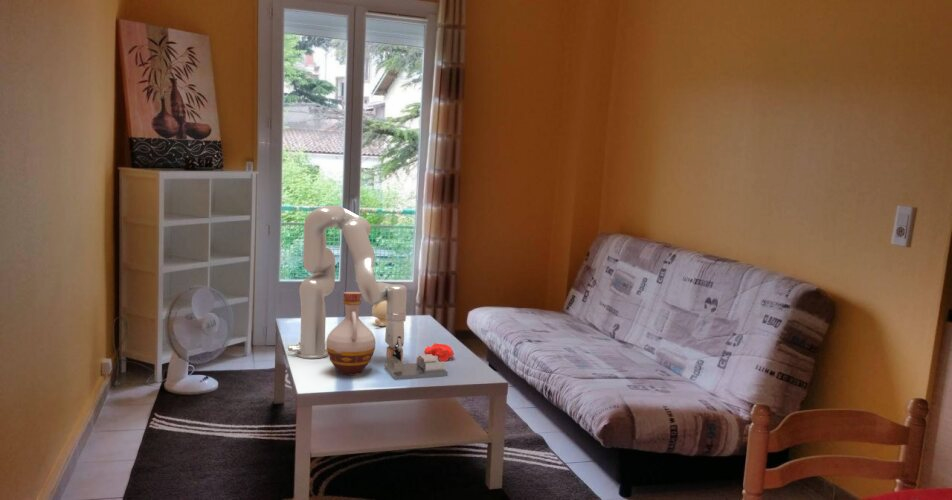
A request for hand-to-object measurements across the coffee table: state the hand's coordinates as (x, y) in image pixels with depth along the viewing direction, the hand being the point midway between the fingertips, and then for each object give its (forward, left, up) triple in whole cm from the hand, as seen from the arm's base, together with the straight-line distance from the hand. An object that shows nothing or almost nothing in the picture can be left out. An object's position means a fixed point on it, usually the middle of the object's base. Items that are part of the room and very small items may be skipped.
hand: (394, 361), depth 277 cm
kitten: (+14, +62, -1) cm, 64 cm away
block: (0, 0, -1) cm, 1 cm away
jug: (-19, -8, -1) cm, 21 cm away
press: (+4, -14, -1) cm, 15 cm away
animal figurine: (+20, +5, -1) cm, 21 cm away
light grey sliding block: (+9, -14, +1) cm, 16 cm away
